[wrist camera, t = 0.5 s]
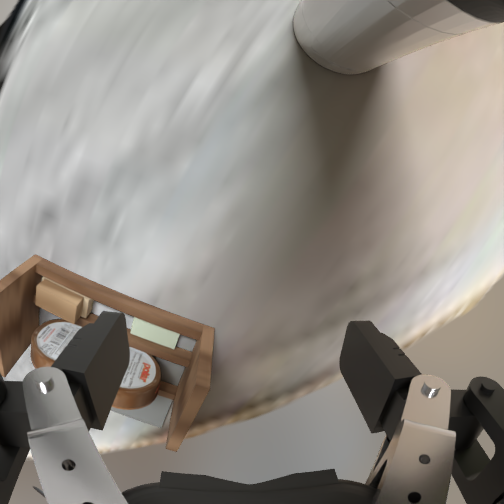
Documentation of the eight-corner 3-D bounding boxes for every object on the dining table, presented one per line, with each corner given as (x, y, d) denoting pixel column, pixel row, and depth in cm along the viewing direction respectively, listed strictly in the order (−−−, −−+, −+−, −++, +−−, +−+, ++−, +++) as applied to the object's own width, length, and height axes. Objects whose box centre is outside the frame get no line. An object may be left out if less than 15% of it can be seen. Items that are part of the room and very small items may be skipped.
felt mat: (38, 339, 31) (36, 341, 31) (173, 395, 35) (172, 399, 34) (39, 373, 33) (38, 376, 33) (161, 424, 37) (161, 427, 36)
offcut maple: (50, 270, 28) (42, 278, 27) (95, 291, 30) (88, 300, 28) (48, 288, 29) (40, 296, 27) (92, 309, 30) (85, 318, 28)
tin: (50, 326, 31) (18, 368, 23) (50, 305, 30) (14, 346, 22) (164, 369, 33) (151, 423, 25) (169, 350, 32) (155, 405, 24)
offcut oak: (44, 278, 27) (36, 285, 25) (83, 297, 28) (76, 305, 26) (43, 297, 27) (35, 304, 26) (81, 315, 28) (74, 324, 27)
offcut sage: (137, 308, 31) (134, 315, 29) (182, 325, 32) (180, 332, 30) (133, 326, 31) (130, 333, 30) (176, 341, 32) (174, 349, 31)
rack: (35, 254, 27) (-13, 290, 19) (214, 328, 31) (209, 389, 23) (31, 329, 31) (-4, 372, 22) (184, 394, 35) (176, 451, 26)
